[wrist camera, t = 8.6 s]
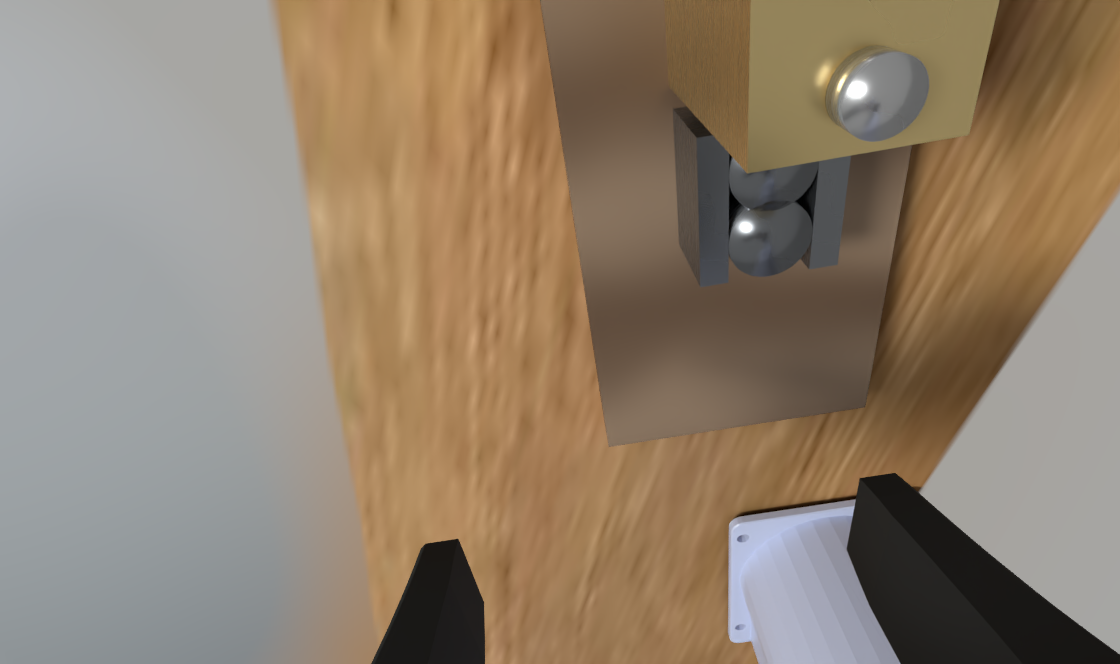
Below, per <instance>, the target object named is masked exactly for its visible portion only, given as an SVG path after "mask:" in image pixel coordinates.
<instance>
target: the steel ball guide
mask: <svg viewBox="0 0 1120 664" xmlns="http://www.w3.org/2000/svg"><path fill="white" fill-rule="evenodd" d="M673 128H674V149H675V171H676V192H677V213H678V235H679V245H680V247H681V249H682V251H683V253H684V255H685V257H686V259H687V261H688V264H689V266H690V268H691V270H692V272H693V274H694V276H695V278H696V280H697V282H698V284H699V286H700V287H706V286H712V285H718V284H724V283H728V279H729V257H730V259H731V260H732V262H733V263H734V265H735V266H736V267H737V268H738V269H739V270H740V271H742V272H744V273H746V274H748V275H751V276H757V277H766V276H772V275H776V274H779V273H781V272H783V271H785V270H787V269H789V268H790V267H792V266H793V265H794V264H795V263H797V262H798V261H799V260H800V259H801V260H802V262H803V263H804V264H805V265H806V266H807V268H808V269H809V270H810V269H816V268H822V267H828V266H834V265H838V258H839V249H840V241H841V233H842V225H843V217H844V209H845V200H846V192H847V184H848V176H849V168H850V159H851V156H845V157H840V158H834V159H828V160H822V161H817V162H811V163H805V164H799V165H794V166H788V167H782V168H776V169H771V170H765V171H759V172H753V173H748V174H747V173H746V172H745V170H744V169H743V168H742V167H741V166H740V165H739V164H738V163H737V162H736V160H735V159H734V158H733V157H732V156H731V155H730V154H729V153H728V152H727V150H726V149H725V148H724V147H723V146H722V145H721V144H720V143H719V142H718V141H717V139H716V138H715V137H714V136H713V135H712V134H711V133H710V132H709V131H708V129H707V128H706V127H705V126H704V125H703V124H702V123H701V122H700V121H699V119H698V118H697V117H696V116H695V115H694V114H693V113H692V112H691V111H690V109H689V108H688V107H687V106H684V107H679V108H673Z"/></svg>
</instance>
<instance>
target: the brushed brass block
mask: <svg viewBox="0 0 1120 664" xmlns="http://www.w3.org/2000/svg"><path fill="white" fill-rule="evenodd" d="M999 1H1000V0H664V4H665V23H666V42H667V61H668V80H669V87H670V88H671V89H672V91H673V92H674V93H675V94H676V95H677V96H678V97H679V98H680V99H681V101H682V102H683V103H684V104H685V105H686V106H687V107H688V108H689V109H690V111H691V112H692V113H693V114H694V115H695V116H696V117H697V118H698V119H699V121H700V122H701V123H702V124H703V125H704V126H705V127H706V128H707V129H708V131H709V132H710V133H711V134H712V135H713V136H714V137H715V138H716V139H717V141H718V142H719V143H720V144H721V145H722V146H723V147H724V148H725V149H726V150H727V152H728V153H729V154H730V155H731V156H732V157H733V158H734V159H735V160H736V162H737V163H738V164H739V165H740V166H741V167H742V168H743V169H744V170H745V172H746V173H747V174H748V173H753V172H759V171H765V170H771V169H776V168H782V167H788V166H794V165H799V164H805V163H811V162H817V161H822V160H828V159H834V158H840V157H845V156H851V155H857V154H863V153H868V152H874V151H880V150H886V149H891V148H897V147H903V146H909V145H914V144H920V143H926V142H932V141H937V140H943V139H949V138H955V137H960V136H966V135H969V133H970V128H971V124H972V119H973V115H974V111H975V106H976V102H977V97H978V93H979V89H980V84H981V80H982V75H983V71H984V67H985V62H986V58H987V53H988V49H989V45H990V40H991V36H992V32H993V27H994V23H995V18H996V14H997V10H998V5H999Z"/></svg>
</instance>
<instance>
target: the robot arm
mask: <svg viewBox="0 0 1120 664" xmlns="http://www.w3.org/2000/svg"><path fill="white" fill-rule="evenodd" d="M728 634H729V637H730V640H731V641H732V642H735V643H741V642H748V641H752V644H753V648H754V651H755V654H756V657H757V660H758V663H759V664H1120V654H1118V653H1117V652H1116V651H1114V650H1113V649H1111V648H1110V647H1109V646H1107V645H1106V644H1105V643H1103V642H1102V641H1100V640H1099V639H1098V638H1096V637H1095V636H1094V635H1092V634H1091V633H1090V632H1088V631H1087V630H1086V629H1084V628H1083V627H1082V626H1080V625H1079V624H1077V623H1076V622H1075V621H1074V620H1072V619H1071V618H1070V617H1068V616H1067V615H1065V614H1064V613H1063V612H1062V611H1060V610H1059V609H1057V608H1056V607H1055V606H1053V605H1052V604H1051V603H1050V602H1048V601H1047V600H1046V599H1045V598H1043V597H1042V596H1041V595H1040V594H1038V593H1037V592H1035V590H1033V589H1032V588H1031V587H1029V586H1028V585H1027V584H1026V583H1024V582H1023V581H1022V580H1021V579H1020V578H1018V577H1017V576H1016V575H1014V573H1012V572H1011V571H1010V570H1008V569H1007V568H1006V567H1005V566H1004V565H1002V564H1001V563H1000V562H999V561H997V560H996V559H995V558H994V557H993V556H991V555H990V554H988V552H986V551H985V550H984V549H983V548H982V547H981V546H979V545H978V544H977V543H976V542H974V541H973V540H972V539H971V538H970V537H969V536H968V535H966V534H965V533H964V532H963V531H962V530H961V529H959V528H958V527H957V526H956V525H955V524H953V523H952V522H951V521H950V520H949V519H948V518H947V517H945V516H944V515H943V514H942V513H941V512H940V511H938V510H937V509H936V508H935V507H934V506H933V505H932V504H931V503H929V502H928V501H927V500H926V499H925V498H924V497H923V496H921V495H920V494H919V492H917V491H916V490H915V489H913V488H912V487H911V486H910V485H909V484H908V483H907V482H905V481H904V480H903V479H902V478H901V477H900V476H898V475H897V474H896V473H892V474H885V475H878V476H872V477H865V478H860V480H859V486H858V491H857V496H856V499H854V500H847V501H840V502H833V503H827V504H820V505H813V506H807V507H800V508H793V509H787V510H780V511H773V512H767V513H760V514H753V515H747V516H740V517H737V518H735V519H733V520H732V521H731V522H730V524H729V580H728ZM371 664H485V628H484V601H483V599H482V597H481V594H480V592H479V589H478V587H477V584H476V582H475V579H474V577H473V574H472V572H471V569H470V567H469V564H468V562H467V559H466V557H465V554H464V552H463V549H462V547H461V544H460V542H459V539H454V540H448V541H441V542H434V543H428V544H425V545H424V546H423V547H422V548H421V550H420V553H419V555H418V558H417V561H416V563H415V566H414V568H413V571H412V573H411V576H410V578H409V581H408V583H407V586H406V588H405V590H404V593H403V595H402V598H401V600H400V602H399V605H398V607H397V609H396V611H395V614H394V616H393V618H392V620H391V623H390V625H389V627H388V629H387V632H386V634H385V636H384V638H383V640H382V642H381V644H380V646H379V649H378V651H377V653H376V655H375V657H374V659H373V661H372V663H371Z"/></svg>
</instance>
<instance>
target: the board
mask: <svg viewBox="0 0 1120 664" xmlns="http://www.w3.org/2000/svg"><path fill="white" fill-rule="evenodd" d="M540 3H541V9H542V16H543V22H544V29H545V35H546V42H547V48H548V55H549V61H550V68H551V75H552V81H553V88H554V94H555V101H556V107H557V114H558V120H559V127H560V133H561V140H562V146H563V153H564V159H565V166H566V172H567V179H568V185H569V192H570V199H571V205H572V212H573V218H574V225H575V231H576V238H577V244H578V251H579V257H580V264H581V270H582V277H583V283H584V290H585V296H586V303H587V310H588V316H589V323H590V329H591V336H592V342H593V349H594V355H595V362H596V368H597V375H598V381H599V388H600V394H601V401H602V407H603V414H604V421H605V427H606V433H607V438H608V444H609V447H611V446H618V445H624V444H631V443H637V442H644V441H650V440H656V439H663V438H669V437H676V436H682V435H689V434H695V433H702V432H708V431H714V430H721V429H727V428H734V427H740V426H747V425H753V424H760V423H766V422H772V421H779V420H785V419H792V418H798V417H805V416H811V415H818V414H824V413H830V412H837V411H843V410H850V409H856V408H863V407H865V405H866V400H867V394H868V389H869V383H870V377H871V372H872V366H873V361H874V355H875V349H876V344H877V338H878V333H879V327H880V322H881V316H882V310H883V305H884V299H885V294H886V288H887V283H888V277H889V271H890V266H891V260H892V255H893V249H894V243H895V238H896V232H897V227H898V221H899V216H900V210H901V204H902V199H903V193H904V188H905V182H906V176H907V171H908V165H909V160H910V154H911V149H912V145H909V146H903V147H897V148H891V149H886V150H880V151H874V152H868V153H863V154H857V155H851V159H850V168H849V176H848V184H847V192H846V200H845V209H844V217H843V225H842V233H841V241H840V249H839V258H838V265H834V266H828V267H822V268H816V269H810V270H809V269H808V268H807V266H806V265H805V264H804V263H803V262H802V260H801V259H800V260H799V261H798V262H797V263H795V264H794V265H793V266H792V267H790V268H789V269H787V270H785V271H783V272H781V273H779V274H776V275H772V276H766V277H757V276H751V275H748V274H746V273H744V272H742V271H740V270H739V269H738V268H737V267H736V266H735V265H734V263H733V262H732V260H731V259H730V257H729V279H728V283H724V284H718V285H712V286H706V287H700V286H699V284H698V282H697V280H696V278H695V276H694V274H693V272H692V270H691V268H690V266H689V264H688V261H687V259H686V257H685V255H684V253H683V251H682V249H681V247H680V245H679V235H678V213H677V192H676V171H675V149H674V128H673V108H679V107H684V106H686V105H685V104H684V103H683V102H682V101H681V99H680V98H679V97H678V96H677V95H676V94H675V93H674V92H673V91H672V89H671V88H670V87H669V80H668V61H667V42H666V23H665V4H664V0H540Z"/></svg>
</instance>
